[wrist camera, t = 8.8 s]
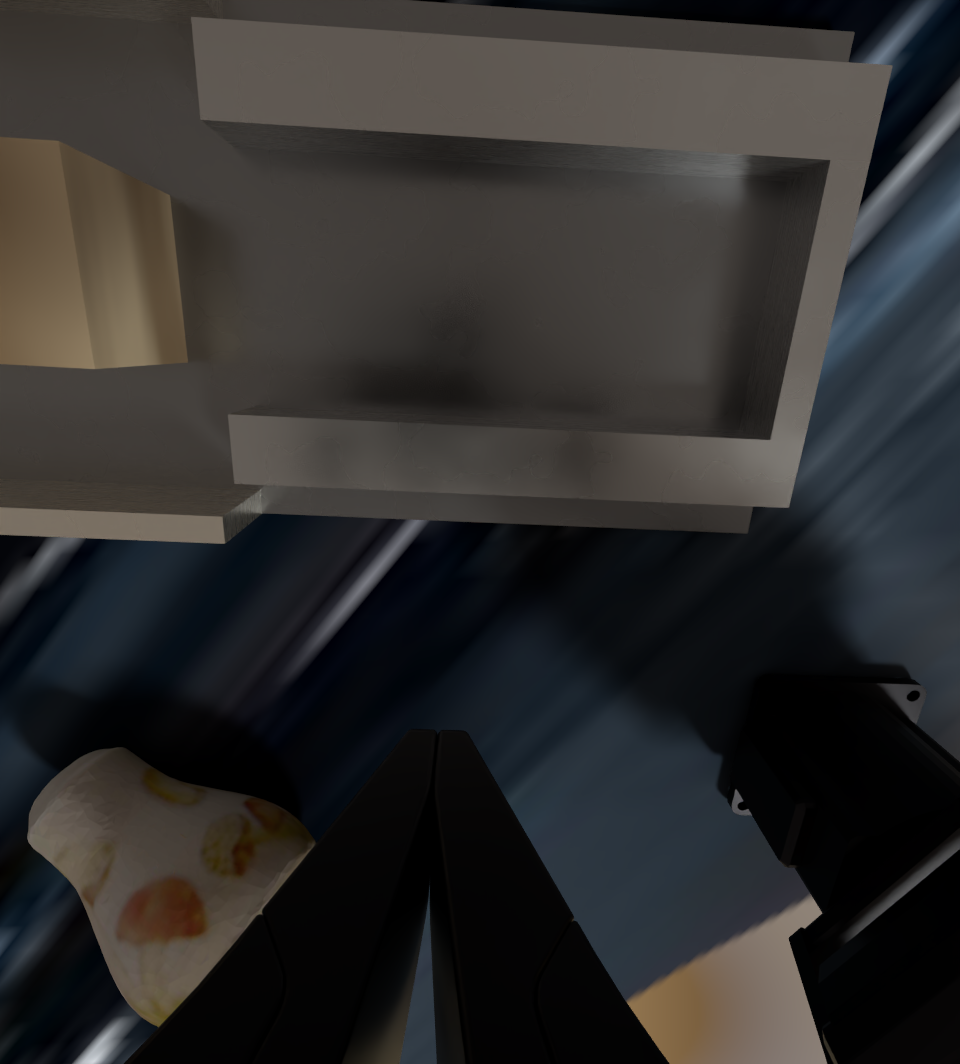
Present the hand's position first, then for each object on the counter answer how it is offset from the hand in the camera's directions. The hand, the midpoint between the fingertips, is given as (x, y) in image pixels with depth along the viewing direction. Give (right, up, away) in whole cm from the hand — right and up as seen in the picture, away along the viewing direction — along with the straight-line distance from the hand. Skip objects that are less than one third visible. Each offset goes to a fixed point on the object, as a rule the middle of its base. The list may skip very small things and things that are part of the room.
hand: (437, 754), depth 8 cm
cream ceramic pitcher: (-11, -8, +16) cm, 21 cm away
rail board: (-5, +11, +9) cm, 15 cm away
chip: (-10, +11, +8) cm, 17 cm away
